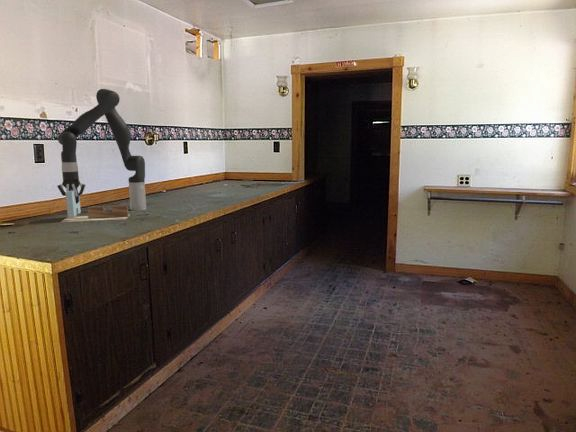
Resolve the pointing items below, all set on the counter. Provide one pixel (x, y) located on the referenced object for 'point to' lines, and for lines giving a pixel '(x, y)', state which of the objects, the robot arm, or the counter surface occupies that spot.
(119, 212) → the walnut slotted plate
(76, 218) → the birch board
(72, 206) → the slotted cross plate
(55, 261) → the counter surface
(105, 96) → the robot arm
